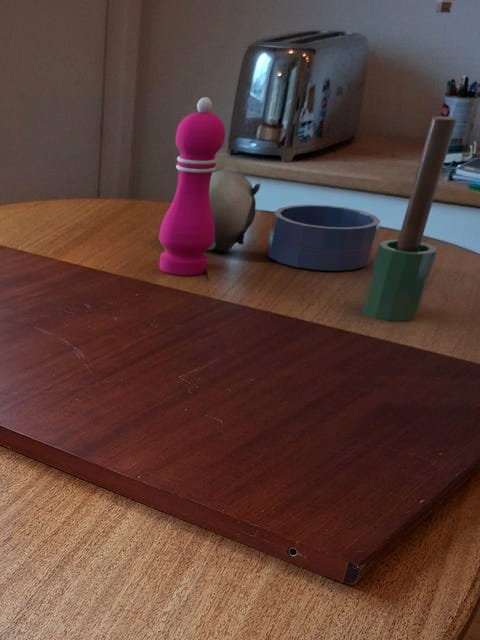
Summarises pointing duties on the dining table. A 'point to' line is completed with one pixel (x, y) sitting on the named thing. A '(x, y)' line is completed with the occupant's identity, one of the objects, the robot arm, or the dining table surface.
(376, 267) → the holder
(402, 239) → the stick
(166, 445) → the dining table surface
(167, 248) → the pepper mill
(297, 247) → the bowl
